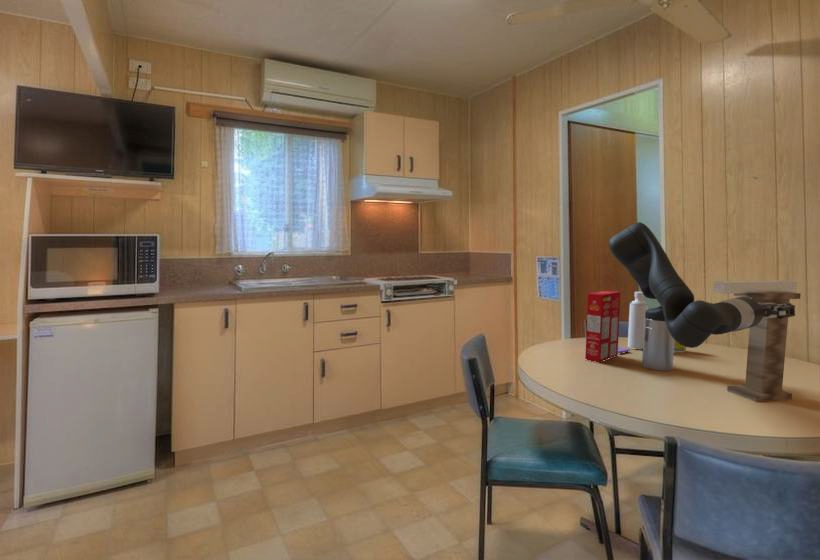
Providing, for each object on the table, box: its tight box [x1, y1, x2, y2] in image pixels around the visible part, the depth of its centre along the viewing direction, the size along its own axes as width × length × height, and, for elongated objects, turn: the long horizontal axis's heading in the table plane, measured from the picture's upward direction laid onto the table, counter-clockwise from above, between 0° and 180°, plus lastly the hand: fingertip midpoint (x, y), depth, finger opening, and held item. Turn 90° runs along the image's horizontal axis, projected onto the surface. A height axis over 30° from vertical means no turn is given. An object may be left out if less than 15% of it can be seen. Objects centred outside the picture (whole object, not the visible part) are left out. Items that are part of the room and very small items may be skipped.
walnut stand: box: [726, 292, 801, 403], centre depth 125 cm, size 12×9×30 cm
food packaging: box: [584, 290, 622, 363], centre depth 165 cm, size 15×5×25 cm, turn 130°
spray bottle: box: [627, 291, 649, 349], centre depth 180 cm, size 7×7×25 cm
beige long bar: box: [712, 279, 798, 295], centre depth 123 cm, size 24×4×3 cm, turn 101°
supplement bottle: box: [674, 340, 687, 353], centre depth 176 cm, size 5×5×10 cm
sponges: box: [618, 346, 631, 353], centre depth 178 cm, size 7×13×2 cm, turn 27°
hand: (769, 306), depth 111 cm, fingers open, 8 cm apart
